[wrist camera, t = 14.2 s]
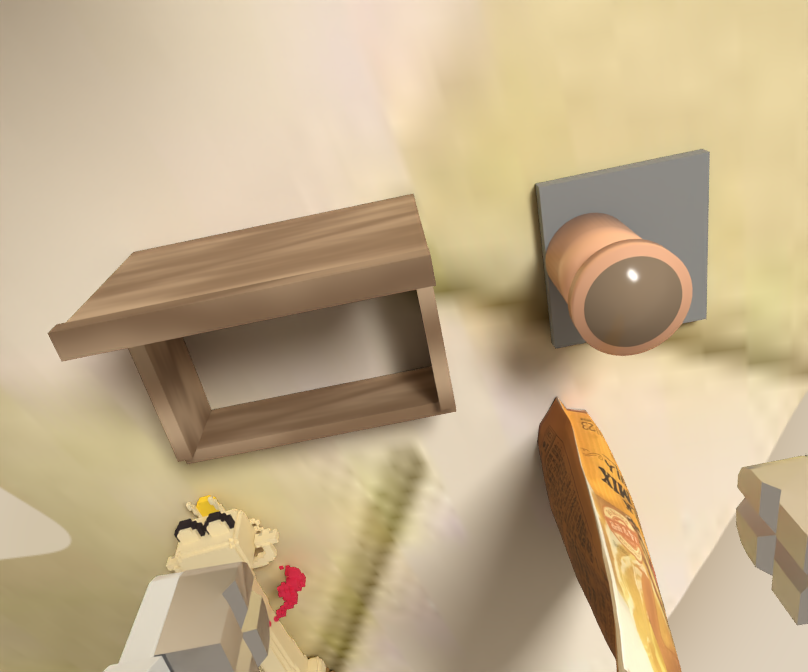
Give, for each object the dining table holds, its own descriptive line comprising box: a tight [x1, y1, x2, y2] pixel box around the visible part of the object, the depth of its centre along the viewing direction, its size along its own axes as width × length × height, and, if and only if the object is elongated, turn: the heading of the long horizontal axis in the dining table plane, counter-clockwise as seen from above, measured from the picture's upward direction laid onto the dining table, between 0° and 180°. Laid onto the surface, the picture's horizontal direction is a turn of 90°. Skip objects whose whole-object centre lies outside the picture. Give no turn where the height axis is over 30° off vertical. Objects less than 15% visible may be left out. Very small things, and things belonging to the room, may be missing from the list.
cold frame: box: [48, 194, 456, 464], centre depth 40 cm, size 14×19×13 cm
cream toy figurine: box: [166, 495, 335, 672], centre depth 54 cm, size 10×9×25 cm
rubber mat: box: [535, 149, 709, 349], centre depth 45 cm, size 12×11×1 cm
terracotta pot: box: [545, 213, 693, 356], centre depth 40 cm, size 7×7×8 cm
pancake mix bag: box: [538, 397, 681, 672], centre depth 41 cm, size 7×19×28 cm, turn 22°
